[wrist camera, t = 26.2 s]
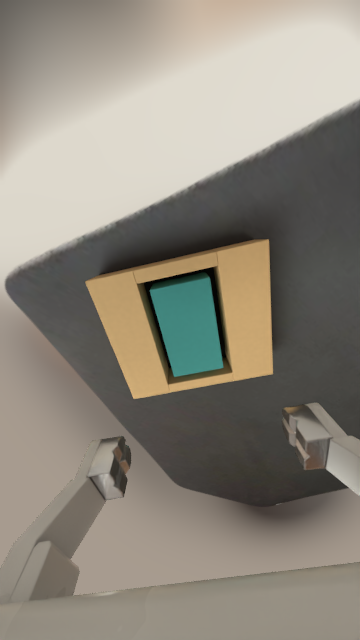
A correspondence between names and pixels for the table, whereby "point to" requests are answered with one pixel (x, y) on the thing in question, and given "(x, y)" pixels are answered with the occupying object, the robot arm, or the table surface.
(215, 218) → the table surface
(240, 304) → the wooden slot frame
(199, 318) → the teal block
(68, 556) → the robot arm
